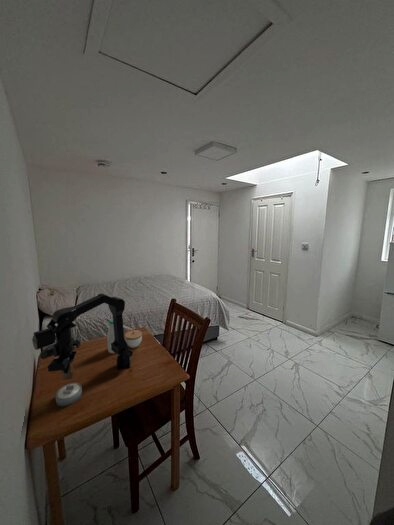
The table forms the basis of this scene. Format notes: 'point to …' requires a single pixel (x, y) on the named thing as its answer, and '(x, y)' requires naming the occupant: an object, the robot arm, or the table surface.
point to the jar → (68, 394)
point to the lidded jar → (133, 338)
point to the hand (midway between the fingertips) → (67, 371)
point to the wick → (69, 374)
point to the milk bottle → (110, 335)
